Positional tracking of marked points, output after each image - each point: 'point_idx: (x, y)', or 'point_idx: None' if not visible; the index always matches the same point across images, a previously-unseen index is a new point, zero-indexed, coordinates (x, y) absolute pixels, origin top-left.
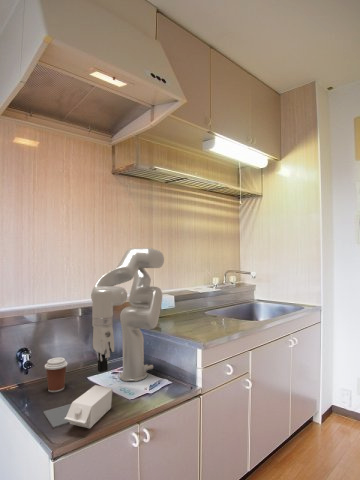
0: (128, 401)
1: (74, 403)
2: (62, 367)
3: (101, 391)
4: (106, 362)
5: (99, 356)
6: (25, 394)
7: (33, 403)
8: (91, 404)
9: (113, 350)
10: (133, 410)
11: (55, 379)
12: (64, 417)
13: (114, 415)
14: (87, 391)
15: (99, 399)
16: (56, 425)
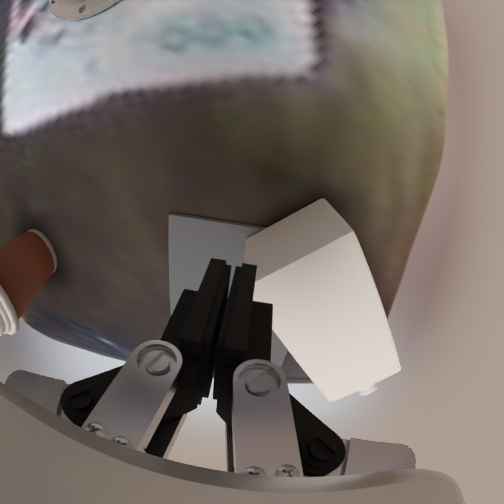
0: (324, 94)
1: (339, 398)
2: (7, 299)
3: (340, 301)
4: (248, 334)
5: (178, 431)
6: (51, 314)
7: (104, 330)
8: (393, 368)
9: (456, 501)
10: (408, 144)
11: (34, 290)
12: None
13: (377, 220)
14: (292, 349)
15: (391, 337)
16: (281, 361)
